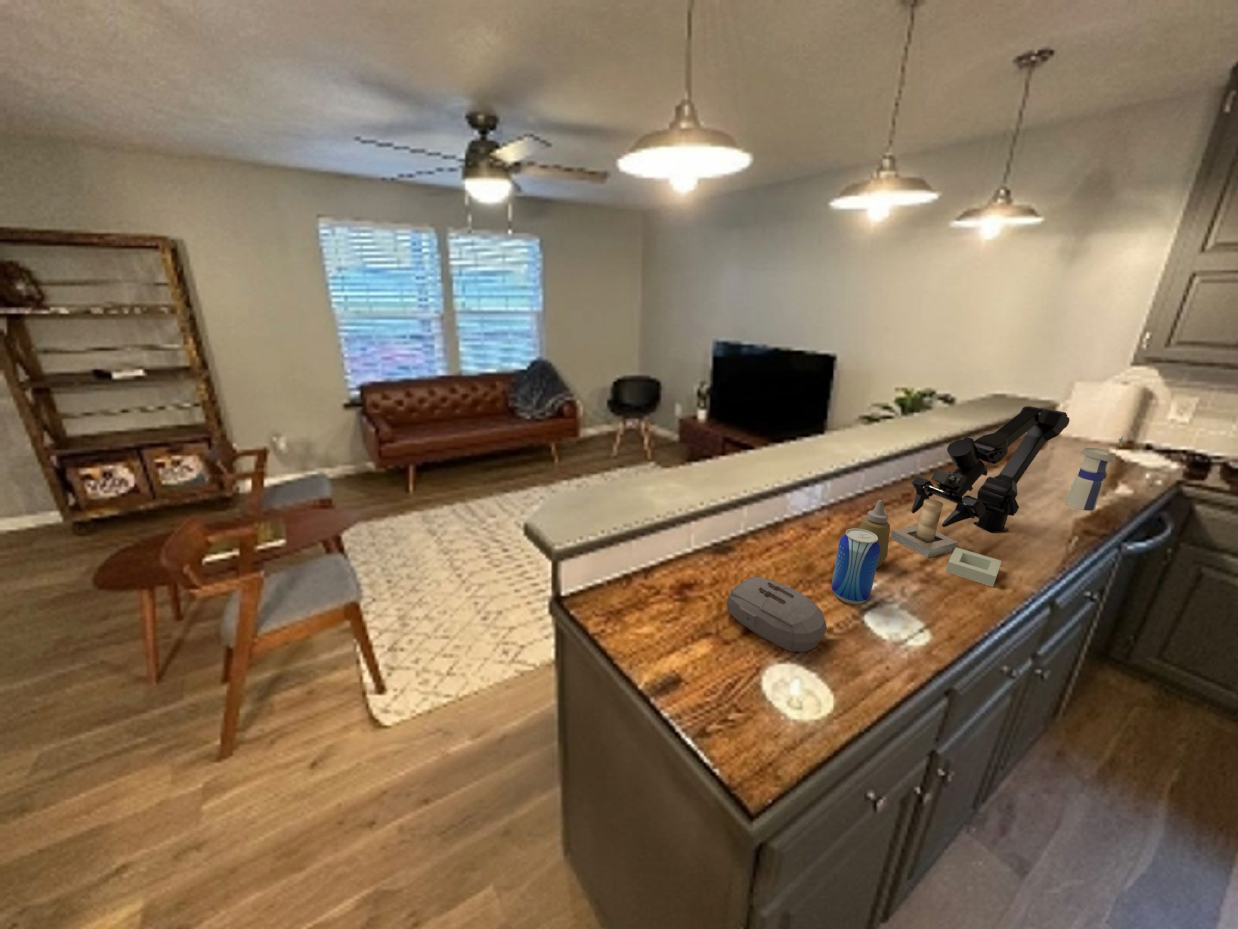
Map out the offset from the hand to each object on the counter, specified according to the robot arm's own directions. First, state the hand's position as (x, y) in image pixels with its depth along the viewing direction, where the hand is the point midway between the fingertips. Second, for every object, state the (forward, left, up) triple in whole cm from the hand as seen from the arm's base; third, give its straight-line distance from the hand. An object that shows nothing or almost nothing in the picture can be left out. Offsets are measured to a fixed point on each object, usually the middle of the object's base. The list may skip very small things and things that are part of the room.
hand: (926, 519), depth 137 cm
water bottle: (-74, -13, -8) cm, 76 cm away
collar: (-2, +15, -8) cm, 17 cm away
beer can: (+36, +18, -8) cm, 41 cm away
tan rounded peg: (-1, 0, -8) cm, 8 cm away
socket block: (-1, 0, -8) cm, 8 cm away
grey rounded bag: (+58, +25, -8) cm, 64 cm away
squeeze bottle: (+22, +6, -8) cm, 24 cm away
